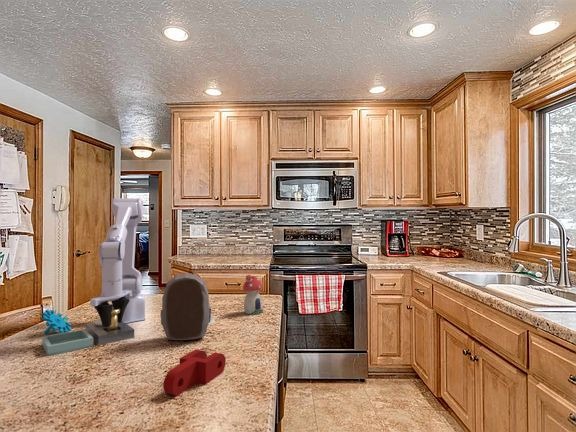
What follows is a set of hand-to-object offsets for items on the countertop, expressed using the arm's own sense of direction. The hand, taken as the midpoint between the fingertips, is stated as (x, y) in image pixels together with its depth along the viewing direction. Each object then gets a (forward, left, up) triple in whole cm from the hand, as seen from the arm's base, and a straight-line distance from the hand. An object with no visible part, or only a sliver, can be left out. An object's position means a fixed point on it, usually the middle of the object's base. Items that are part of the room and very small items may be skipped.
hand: (112, 324), depth 113 cm
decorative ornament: (-50, +5, -4) cm, 50 cm away
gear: (+12, -16, -4) cm, 21 cm away
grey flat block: (0, -3, -4) cm, 5 cm away
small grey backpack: (-17, +16, -4) cm, 24 cm away
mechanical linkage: (-5, +45, -4) cm, 45 cm away
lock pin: (0, 0, -4) cm, 4 cm away
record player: (-29, -2, -5) cm, 29 cm away
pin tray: (+12, 0, -4) cm, 13 cm away
